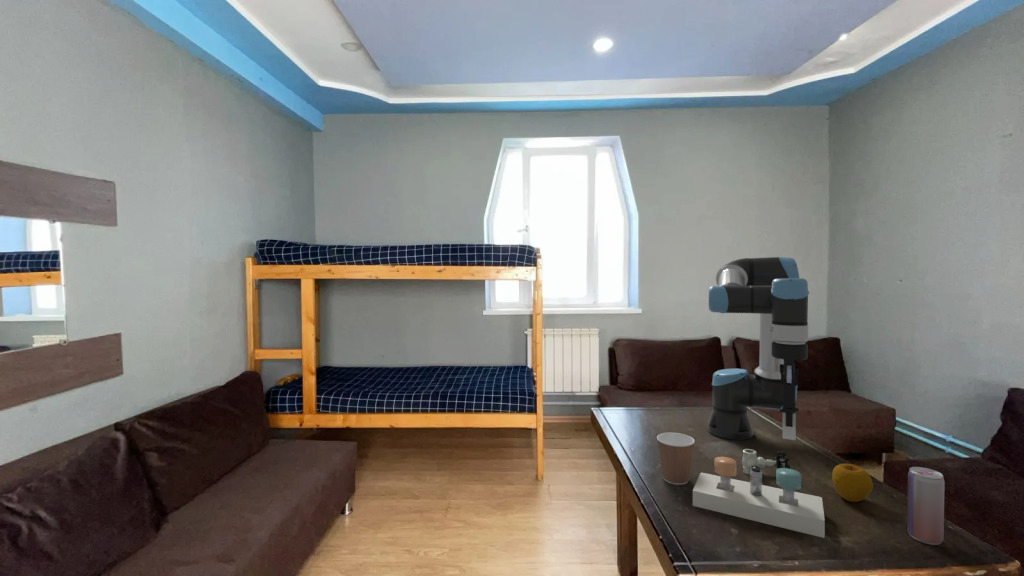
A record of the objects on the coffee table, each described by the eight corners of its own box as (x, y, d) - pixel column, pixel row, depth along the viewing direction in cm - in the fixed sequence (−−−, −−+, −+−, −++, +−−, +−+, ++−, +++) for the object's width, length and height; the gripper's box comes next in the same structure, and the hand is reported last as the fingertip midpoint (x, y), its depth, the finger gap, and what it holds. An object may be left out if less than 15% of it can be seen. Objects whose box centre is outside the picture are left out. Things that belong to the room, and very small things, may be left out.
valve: (746, 477, 132) (790, 478, 130) (746, 455, 131) (790, 456, 130) (737, 468, 138) (779, 468, 137) (737, 446, 138) (779, 447, 137)
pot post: (750, 490, 116) (750, 464, 116) (762, 492, 114) (762, 466, 114) (749, 494, 114) (749, 468, 113) (761, 497, 112) (761, 470, 112)
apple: (881, 505, 115) (881, 471, 114) (852, 509, 113) (852, 474, 113) (851, 489, 123) (851, 457, 123) (823, 492, 122) (824, 460, 122)
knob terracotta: (716, 480, 121) (716, 455, 121) (737, 485, 119) (737, 459, 118) (713, 489, 117) (713, 462, 117) (735, 494, 114) (735, 466, 114)
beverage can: (900, 531, 104) (901, 467, 103) (923, 529, 104) (925, 465, 104) (925, 547, 98) (927, 479, 97) (951, 545, 98) (952, 477, 98)
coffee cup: (693, 473, 134) (693, 434, 134) (695, 490, 125) (695, 447, 124) (657, 469, 138) (657, 430, 137) (656, 484, 128) (656, 443, 128)
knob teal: (776, 493, 114) (776, 466, 114) (800, 498, 111) (801, 470, 111) (775, 502, 110) (775, 474, 109) (801, 508, 107) (801, 479, 106)
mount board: (700, 486, 127) (700, 472, 127) (821, 513, 112) (821, 497, 112) (692, 505, 117) (692, 490, 116) (824, 538, 102) (824, 520, 102)
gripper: (772, 337, 117) (772, 428, 118) (770, 344, 106) (770, 444, 107) (807, 339, 113) (806, 433, 114) (808, 346, 102) (808, 450, 103)
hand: (789, 438), depth 110 cm, fingers closed
